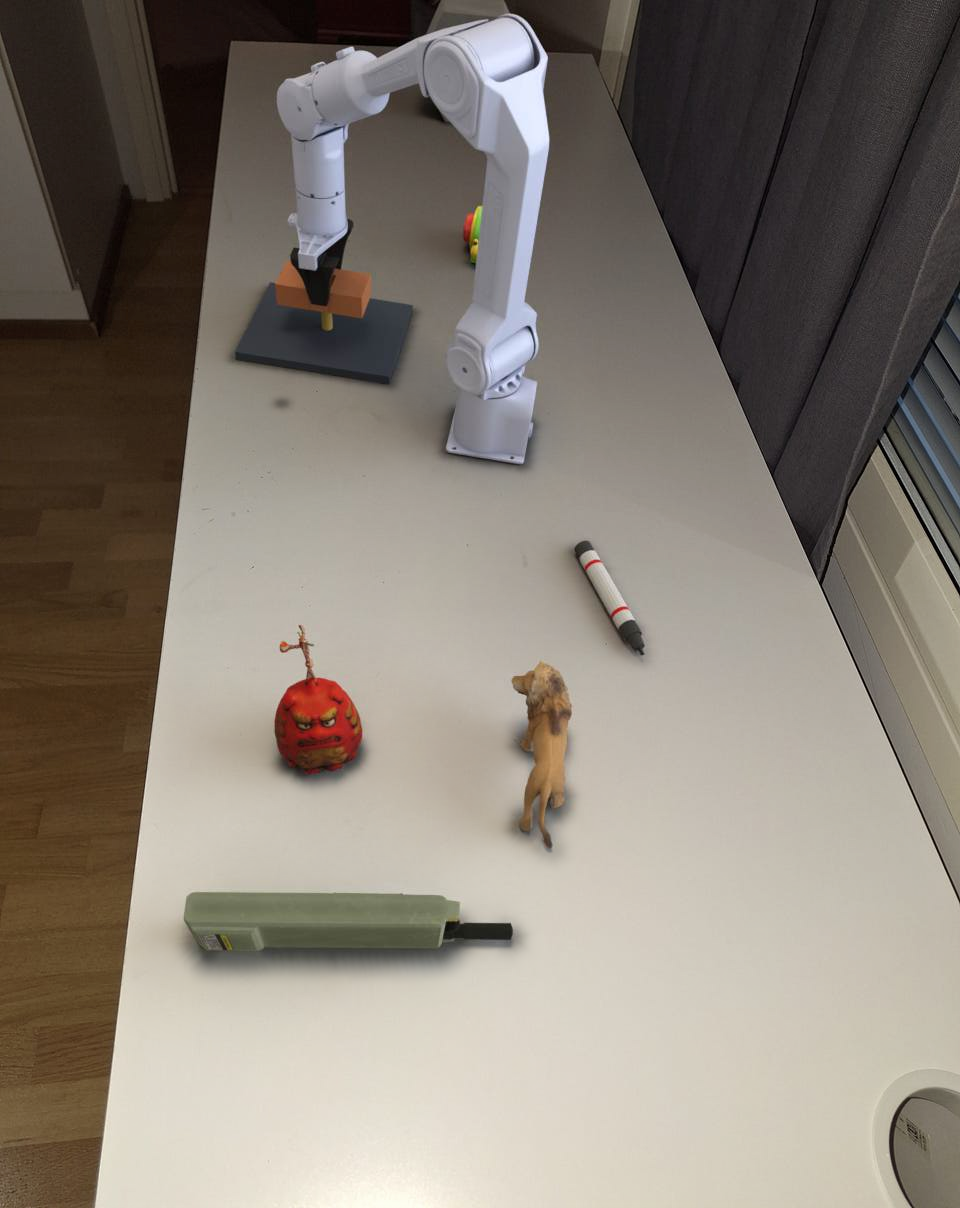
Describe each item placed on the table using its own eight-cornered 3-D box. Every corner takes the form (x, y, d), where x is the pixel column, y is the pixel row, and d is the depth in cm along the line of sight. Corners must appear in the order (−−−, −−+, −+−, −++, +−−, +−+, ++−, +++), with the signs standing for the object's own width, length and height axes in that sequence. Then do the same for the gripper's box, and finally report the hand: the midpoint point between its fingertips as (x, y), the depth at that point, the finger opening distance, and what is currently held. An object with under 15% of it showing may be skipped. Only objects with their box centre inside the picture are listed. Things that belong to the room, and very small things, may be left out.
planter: (541, 83, 163) (488, -35, 148) (544, 102, 158) (489, -17, 144) (460, 129, 169) (401, 21, 155) (460, 149, 164) (399, 39, 150)
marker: (572, 554, 100) (575, 542, 99) (588, 550, 101) (591, 538, 99) (633, 663, 92) (637, 652, 90) (650, 659, 92) (655, 648, 91)
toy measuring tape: (453, 267, 133) (457, 225, 128) (484, 203, 145) (488, 162, 140) (495, 276, 132) (500, 234, 127) (523, 211, 144) (528, 171, 139)
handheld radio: (202, 911, 73) (509, 914, 75) (196, 953, 71) (511, 955, 73) (188, 884, 67) (519, 888, 69) (180, 929, 66) (521, 932, 68)
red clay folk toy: (284, 786, 80) (268, 697, 68) (272, 719, 84) (255, 624, 72) (368, 768, 82) (367, 678, 70) (353, 703, 86) (349, 608, 74)
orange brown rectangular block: (371, 294, 118) (371, 274, 115) (362, 318, 114) (361, 297, 112) (288, 281, 118) (286, 260, 115) (276, 304, 114) (274, 283, 112)
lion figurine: (502, 707, 87) (512, 654, 80) (556, 705, 88) (571, 652, 81) (521, 852, 78) (535, 808, 71) (581, 849, 79) (600, 804, 72)
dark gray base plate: (412, 312, 125) (413, 274, 120) (389, 384, 115) (390, 345, 111) (270, 289, 125) (266, 250, 121) (235, 359, 115) (229, 320, 111)
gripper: (302, 151, 109) (308, 254, 119) (268, 212, 100) (278, 318, 110) (359, 160, 109) (361, 263, 119) (330, 222, 100) (335, 327, 110)
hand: (325, 290), depth 115 cm, fingers closed on orange brown rectangular block, 5 cm apart
